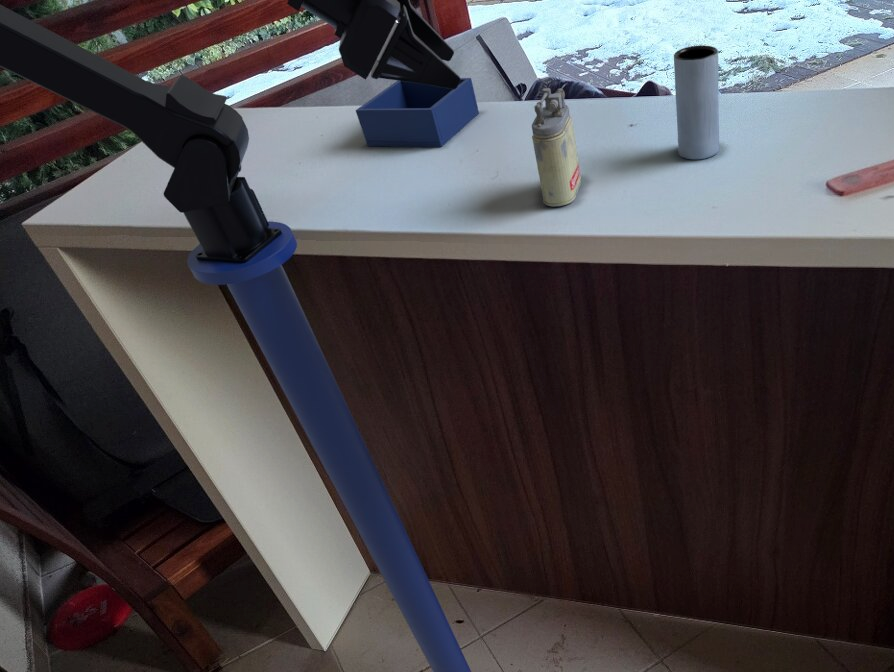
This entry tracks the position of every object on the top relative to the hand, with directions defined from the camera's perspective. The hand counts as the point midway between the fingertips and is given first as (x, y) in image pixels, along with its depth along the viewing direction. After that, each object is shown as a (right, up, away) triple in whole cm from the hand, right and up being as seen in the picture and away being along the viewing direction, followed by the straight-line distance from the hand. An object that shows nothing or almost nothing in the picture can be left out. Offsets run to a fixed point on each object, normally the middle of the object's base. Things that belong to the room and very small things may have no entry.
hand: (455, 69), depth 71 cm
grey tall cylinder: (+25, -3, +13) cm, 28 cm away
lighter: (+10, -9, +10) cm, 16 cm away
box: (-10, +7, +29) cm, 31 cm away
